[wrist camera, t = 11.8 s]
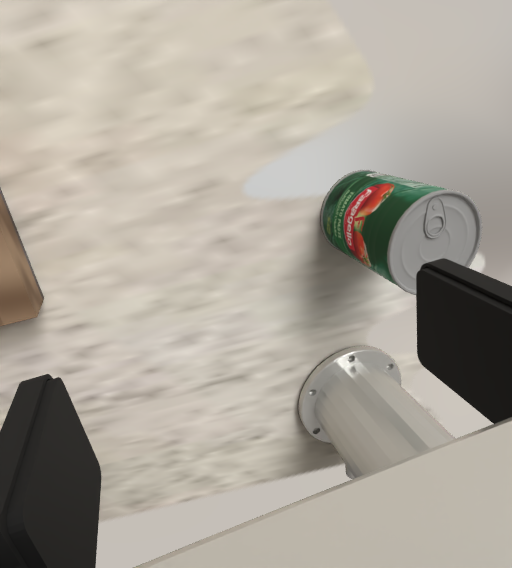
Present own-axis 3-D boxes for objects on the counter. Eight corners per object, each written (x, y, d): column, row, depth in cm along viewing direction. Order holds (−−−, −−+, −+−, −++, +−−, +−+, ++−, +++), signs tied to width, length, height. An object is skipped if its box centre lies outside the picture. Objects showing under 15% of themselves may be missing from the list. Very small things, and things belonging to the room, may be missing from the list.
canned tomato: (396, 238, 42) (481, 277, 32) (325, 262, 40) (392, 310, 31) (391, 159, 39) (485, 176, 29) (314, 181, 37) (386, 208, 27)
